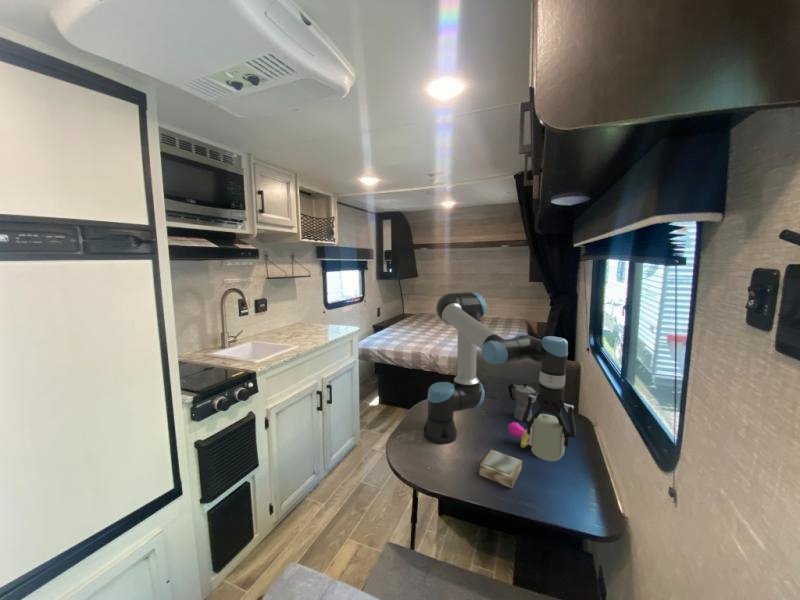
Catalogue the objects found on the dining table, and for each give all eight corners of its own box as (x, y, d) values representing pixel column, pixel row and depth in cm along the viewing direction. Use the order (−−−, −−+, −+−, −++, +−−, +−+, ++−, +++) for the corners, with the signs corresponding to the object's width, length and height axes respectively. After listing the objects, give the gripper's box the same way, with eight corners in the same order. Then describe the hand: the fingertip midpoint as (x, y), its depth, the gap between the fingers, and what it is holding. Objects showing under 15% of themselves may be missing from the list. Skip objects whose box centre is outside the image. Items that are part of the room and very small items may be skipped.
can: (554, 445, 111) (556, 412, 110) (566, 461, 102) (569, 427, 101) (527, 444, 112) (529, 411, 110) (537, 460, 103) (540, 426, 101)
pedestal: (479, 474, 119) (479, 464, 119) (490, 458, 129) (491, 448, 128) (511, 488, 112) (512, 477, 112) (521, 470, 122) (522, 459, 121)
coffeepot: (539, 418, 161) (542, 384, 159) (531, 425, 155) (534, 390, 152) (510, 408, 172) (512, 376, 170) (502, 414, 165) (504, 381, 163)
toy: (541, 463, 127) (553, 440, 127) (500, 435, 137) (511, 414, 138) (544, 460, 135) (555, 439, 136) (505, 434, 146) (516, 414, 146)
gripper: (514, 380, 107) (510, 442, 110) (588, 397, 94) (581, 467, 98) (520, 373, 113) (516, 432, 116) (591, 389, 100) (584, 455, 104)
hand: (546, 448), depth 107 cm, fingers closed on can, 9 cm apart
